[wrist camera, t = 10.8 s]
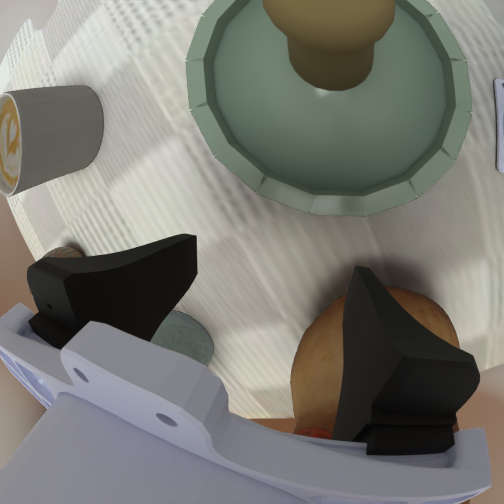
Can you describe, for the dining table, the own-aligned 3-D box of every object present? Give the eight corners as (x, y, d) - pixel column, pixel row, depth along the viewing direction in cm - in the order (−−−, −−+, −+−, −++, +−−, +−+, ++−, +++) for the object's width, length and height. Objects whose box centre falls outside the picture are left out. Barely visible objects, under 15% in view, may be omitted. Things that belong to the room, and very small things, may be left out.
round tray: (433, -15, 9) (441, -26, 7) (453, 212, 17) (465, 223, 15) (195, -9, 14) (181, -19, 12) (215, 204, 23) (202, 214, 21)
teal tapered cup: (153, 349, 35) (107, 412, 25) (142, 292, 30) (76, 359, 20) (221, 373, 33) (183, 449, 23) (221, 316, 28) (168, 406, 18)
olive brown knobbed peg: (278, 26, 14) (221, -51, 5) (358, 13, 12) (374, -74, 3) (300, 98, 17) (264, 64, 7) (383, 86, 15) (440, 45, 5)
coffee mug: (99, 71, 20) (18, 72, 11) (110, 160, 24) (30, 187, 15) (37, 112, 24) (-24, 126, 15) (47, 181, 28) (-12, 207, 19)
